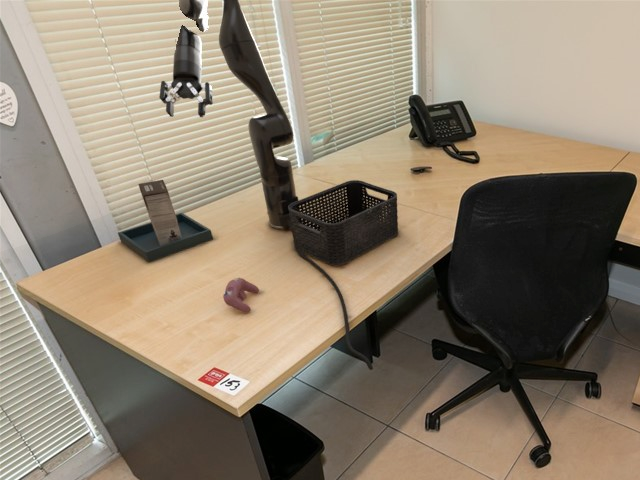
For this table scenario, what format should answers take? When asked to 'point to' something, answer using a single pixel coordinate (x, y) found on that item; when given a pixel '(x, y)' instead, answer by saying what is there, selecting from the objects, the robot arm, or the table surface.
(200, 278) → the table surface
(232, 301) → the video game controller
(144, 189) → the coffee box
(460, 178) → the table surface
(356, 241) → the storage bin
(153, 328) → the table surface
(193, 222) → the tray
